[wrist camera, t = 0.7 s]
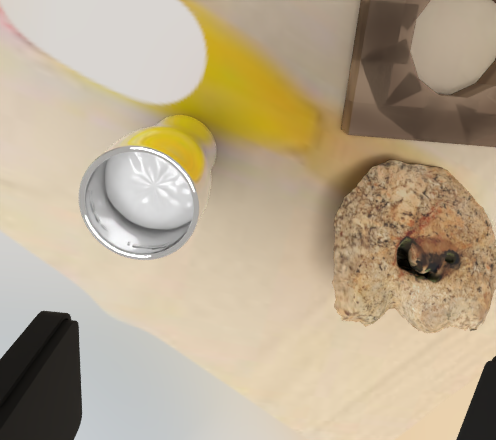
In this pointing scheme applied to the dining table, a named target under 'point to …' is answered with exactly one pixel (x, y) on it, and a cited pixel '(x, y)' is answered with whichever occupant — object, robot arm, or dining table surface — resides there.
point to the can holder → (409, 86)
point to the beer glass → (150, 188)
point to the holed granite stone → (413, 250)
